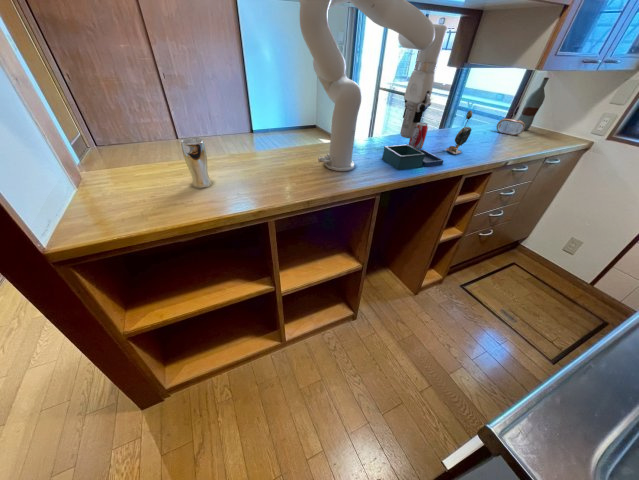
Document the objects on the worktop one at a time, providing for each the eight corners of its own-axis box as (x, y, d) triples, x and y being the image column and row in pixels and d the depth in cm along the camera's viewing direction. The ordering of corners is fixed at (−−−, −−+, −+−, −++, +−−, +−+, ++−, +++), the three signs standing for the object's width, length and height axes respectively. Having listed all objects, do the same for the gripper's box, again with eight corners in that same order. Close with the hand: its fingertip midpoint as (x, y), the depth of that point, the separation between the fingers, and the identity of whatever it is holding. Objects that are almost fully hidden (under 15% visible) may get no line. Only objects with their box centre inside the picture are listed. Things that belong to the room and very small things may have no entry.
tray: (424, 166, 116) (426, 162, 115) (405, 155, 126) (406, 151, 125) (442, 164, 119) (443, 160, 118) (422, 153, 130) (423, 149, 128)
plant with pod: (468, 153, 134) (486, 110, 121) (452, 155, 130) (468, 111, 117) (456, 147, 139) (471, 106, 127) (440, 149, 135) (454, 107, 123)
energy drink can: (415, 139, 109) (427, 98, 100) (401, 138, 109) (412, 97, 99) (411, 134, 114) (422, 96, 104) (398, 133, 113) (407, 94, 104)
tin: (520, 135, 165) (527, 121, 160) (520, 137, 163) (527, 122, 158) (494, 131, 171) (500, 117, 166) (493, 132, 169) (500, 118, 163)
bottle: (515, 126, 184) (539, 76, 165) (529, 129, 179) (556, 78, 161) (511, 128, 178) (536, 77, 160) (526, 131, 174) (554, 79, 155)
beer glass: (188, 183, 93) (176, 140, 83) (207, 178, 97) (197, 136, 87) (197, 190, 89) (185, 146, 80) (216, 184, 93) (207, 141, 83)
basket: (397, 170, 112) (401, 156, 108) (381, 158, 121) (384, 146, 118) (421, 167, 116) (425, 154, 112) (404, 156, 125) (407, 144, 122)
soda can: (422, 151, 132) (430, 126, 125) (408, 149, 133) (414, 124, 126) (421, 146, 138) (428, 122, 130) (407, 145, 138) (413, 121, 131)
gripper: (403, 64, 101) (391, 115, 112) (433, 70, 89) (417, 126, 100) (418, 65, 104) (406, 114, 115) (450, 71, 91) (432, 126, 102)
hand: (411, 119), depth 107 cm, fingers closed on energy drink can, 6 cm apart
